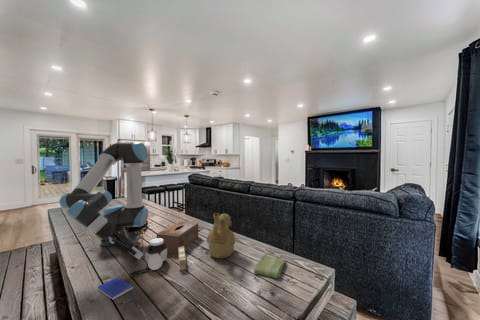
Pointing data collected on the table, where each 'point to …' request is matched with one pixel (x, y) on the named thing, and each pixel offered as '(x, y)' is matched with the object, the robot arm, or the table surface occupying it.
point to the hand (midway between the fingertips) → (141, 256)
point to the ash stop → (181, 258)
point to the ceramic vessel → (221, 237)
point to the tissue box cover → (179, 235)
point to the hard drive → (115, 288)
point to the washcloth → (269, 266)
